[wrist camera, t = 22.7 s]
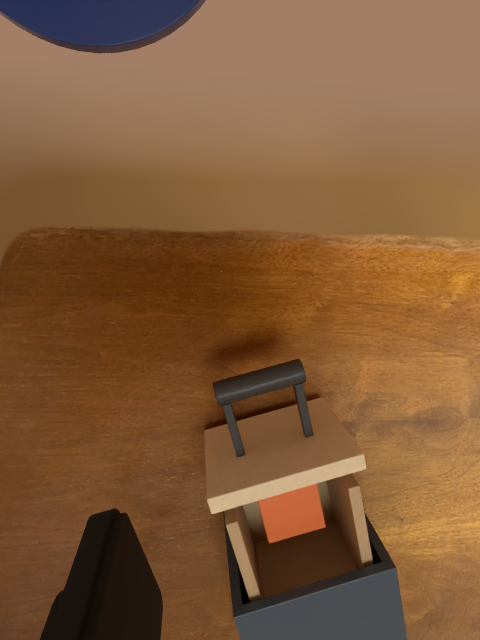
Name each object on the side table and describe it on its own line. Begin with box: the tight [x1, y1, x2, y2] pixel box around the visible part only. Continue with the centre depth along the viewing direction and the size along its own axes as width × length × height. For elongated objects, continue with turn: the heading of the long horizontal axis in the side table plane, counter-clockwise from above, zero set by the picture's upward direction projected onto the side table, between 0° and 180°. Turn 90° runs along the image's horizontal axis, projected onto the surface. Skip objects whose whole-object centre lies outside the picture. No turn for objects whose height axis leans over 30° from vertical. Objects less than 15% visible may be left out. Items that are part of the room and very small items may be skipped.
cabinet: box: [223, 511, 407, 640], centre depth 31 cm, size 13×11×9 cm
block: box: [258, 484, 326, 543], centre depth 28 cm, size 4×4×4 cm
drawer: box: [204, 359, 374, 602], centre depth 27 cm, size 18×10×8 cm, turn 14°
